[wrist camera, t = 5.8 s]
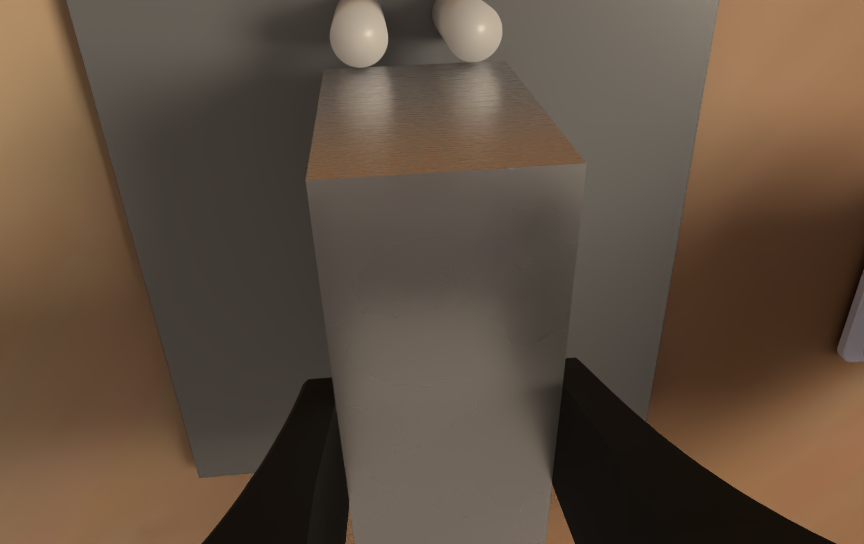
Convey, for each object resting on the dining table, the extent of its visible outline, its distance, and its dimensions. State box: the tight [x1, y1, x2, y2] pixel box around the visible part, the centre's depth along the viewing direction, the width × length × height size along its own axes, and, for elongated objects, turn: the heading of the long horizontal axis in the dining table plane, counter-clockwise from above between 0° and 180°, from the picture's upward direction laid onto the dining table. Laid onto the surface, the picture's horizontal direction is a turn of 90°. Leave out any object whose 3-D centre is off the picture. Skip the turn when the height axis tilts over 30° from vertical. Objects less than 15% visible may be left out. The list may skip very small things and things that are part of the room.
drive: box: [305, 60, 587, 544], centre depth 14 cm, size 4×10×6 cm, turn 2°
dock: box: [66, 0, 719, 478], centre depth 18 cm, size 16×17×4 cm
